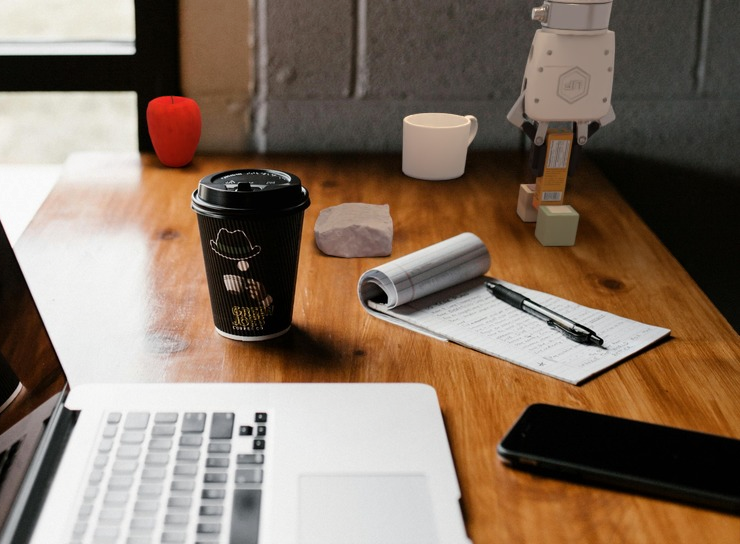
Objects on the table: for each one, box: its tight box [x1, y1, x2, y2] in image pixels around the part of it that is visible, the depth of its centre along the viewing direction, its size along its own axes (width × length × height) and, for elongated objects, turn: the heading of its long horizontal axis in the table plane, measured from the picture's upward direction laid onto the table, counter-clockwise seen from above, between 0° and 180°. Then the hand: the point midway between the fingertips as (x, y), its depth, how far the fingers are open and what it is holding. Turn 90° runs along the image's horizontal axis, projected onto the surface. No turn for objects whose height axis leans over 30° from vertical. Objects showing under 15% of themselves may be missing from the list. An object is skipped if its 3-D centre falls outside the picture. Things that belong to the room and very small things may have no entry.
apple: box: [146, 95, 203, 168], centre depth 141 cm, size 9×9×11 cm
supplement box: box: [532, 127, 573, 211], centre depth 111 cm, size 3×3×10 cm
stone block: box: [313, 202, 394, 259], centre depth 110 cm, size 12×5×10 cm
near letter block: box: [534, 204, 580, 247], centre depth 110 cm, size 4×4×4 cm
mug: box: [401, 112, 479, 181], centre depth 137 cm, size 13×10×8 cm
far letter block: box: [516, 183, 538, 223], centre depth 118 cm, size 4×4×4 cm
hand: (552, 172), depth 111 cm, fingers closed on supplement box, 3 cm apart
